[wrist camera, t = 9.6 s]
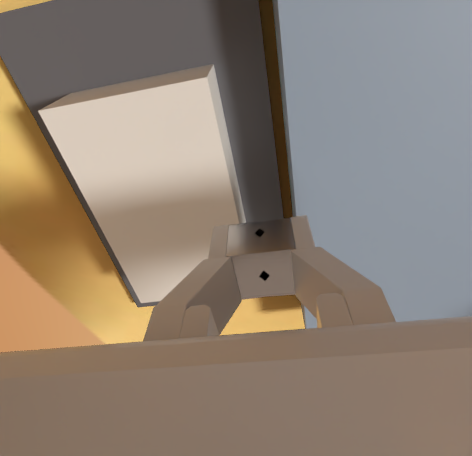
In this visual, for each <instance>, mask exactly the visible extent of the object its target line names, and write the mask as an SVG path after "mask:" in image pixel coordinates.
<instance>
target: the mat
mask: <svg viewBox="0 0 472 456" xmlns="http://www.w3.org/2000/svg"><path fill="white" fill-rule="evenodd" d="M0 56H1V58H2V60H3V62H4V63H5V65H6V67H7V69H8V71H9V73H10V74H11V76H12V78H13V80H14V82H15V84H16V85H17V87H18V89H19V91H20V93H21V94H22V96H23V98H24V100H25V102H26V104H27V105H28V107H29V109H30V111H31V113H32V115H33V116H34V118H35V120H36V122H37V124H38V126H39V127H40V129H41V131H42V133H43V135H44V137H45V138H46V140H47V142H48V144H49V146H50V148H51V149H52V151H53V153H54V155H55V157H56V159H57V160H58V162H59V164H60V166H61V168H62V170H63V171H64V173H65V175H66V177H67V179H68V181H69V182H70V184H71V186H72V188H73V190H74V192H75V193H76V195H77V197H78V199H79V201H80V203H81V204H82V206H83V208H84V210H85V212H86V214H87V215H88V217H89V219H90V221H91V223H92V225H93V226H94V228H95V230H96V232H97V234H98V236H99V237H100V239H101V241H102V243H103V245H104V246H105V248H106V250H107V252H108V254H109V256H110V257H111V259H112V261H113V263H114V265H115V267H116V268H117V270H118V272H119V274H120V276H121V278H122V279H123V281H124V283H125V285H126V287H127V289H128V290H129V292H130V294H131V296H132V298H133V300H134V301H135V303H136V305H137V307H146V306H155V305H157V304H158V303H159V302H160V301H157V302H148V303H141V302H140V300H139V299H138V297H137V295H136V293H135V291H134V289H133V287H132V286H131V284H130V282H129V280H128V278H127V276H126V274H125V272H124V271H123V269H122V267H121V265H120V263H119V261H118V259H117V258H116V256H115V254H114V252H113V250H112V248H111V246H110V244H109V243H108V241H107V239H106V237H105V235H104V233H103V231H102V230H101V228H100V226H99V224H98V222H97V220H96V218H95V216H94V215H93V213H92V211H91V209H90V207H89V205H88V203H87V202H86V200H85V198H84V196H83V194H82V192H81V190H80V189H79V187H78V185H77V183H76V181H75V179H74V177H73V175H72V174H71V172H70V170H69V168H68V166H67V164H66V162H65V161H64V159H63V157H62V155H61V153H60V151H59V149H58V147H57V146H56V144H55V142H54V140H53V138H52V136H51V134H50V133H49V131H48V129H47V127H46V125H45V123H44V121H43V119H42V118H41V116H40V114H39V112H38V111H39V110H41V109H42V108H44V107H46V106H48V105H50V104H52V103H53V102H55V101H57V100H59V99H61V98H63V97H64V96H66V95H68V94H70V93H74V92H79V91H84V90H89V89H93V88H98V87H103V86H108V85H113V84H118V83H123V82H128V81H132V80H137V79H142V78H147V77H152V76H157V75H162V74H167V73H171V72H176V71H181V70H186V69H191V68H196V67H201V66H206V65H210V64H214V68H215V73H216V78H217V83H218V88H219V93H220V98H221V103H222V107H223V112H224V117H225V122H226V127H227V132H228V137H229V142H230V147H231V151H232V156H233V161H234V166H235V171H236V176H237V181H238V186H239V191H240V195H241V200H242V205H243V210H244V215H245V220H246V223H249V222H259V221H260V222H262V221H269V220H277V219H284V217H283V209H282V200H281V191H280V183H279V174H278V165H277V157H276V148H275V140H274V131H273V122H272V114H271V105H270V96H269V88H268V79H267V70H266V62H265V53H264V44H263V36H262V27H261V18H260V10H259V1H258V0H52V1H48V2H44V3H40V4H36V5H32V6H28V7H24V8H20V9H15V10H11V11H7V12H3V13H0Z"/></svg>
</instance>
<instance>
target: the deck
mask: <svg viewBox="0 0 472 456" xmlns="http://www.w3.org/2000/svg"><path fill="white" fill-rule="evenodd" d="M272 3H273V14H274V24H275V35H276V45H277V56H278V67H279V77H280V88H281V98H282V109H283V119H284V130H285V140H286V151H287V161H288V172H289V182H290V193H291V204H292V214H293V217H295V216H302V215H306V216H307V217H308V221H309V225H310V229H311V232H312V236H313V240H314V244H315V247H321V248H323V249H324V250H326V251H327V252H329V253H330V254H332V255H333V256H335V257H336V258H338V259H339V260H341V261H342V262H344V263H345V264H347V265H348V266H349V267H351V268H352V269H354V270H355V271H357V272H358V273H360V274H361V275H363V276H364V277H366V278H367V279H369V280H370V281H372V282H373V283H375V284H376V285H378V286H379V287H381V289H382V291H383V293H384V296H385V298H386V300H387V302H388V305H389V307H390V309H391V311H392V314H393V316H394V318H395V320H396V322H403V321H415V320H428V319H440V318H453V317H465V316H472V0H272ZM301 307H302V313H303V319H304V324H305V329H310V328H317V319H316V318H315V317H314V316H313V315H312V314H311V313H310V312H309V310H308V309H307V308H306V307H305V306H304V305H303V304H302V303H301Z"/></svg>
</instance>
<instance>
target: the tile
mask: <svg viewBox="0 0 472 456" xmlns="http://www.w3.org/2000/svg"><path fill="white" fill-rule="evenodd" d="M38 112H39V114H40V116H41V118H42V119H43V121H44V123H45V125H46V127H47V129H48V131H49V133H50V134H51V136H52V138H53V140H54V142H55V144H56V146H57V147H58V149H59V151H60V153H61V155H62V157H63V159H64V161H65V162H66V164H67V166H68V168H69V170H70V172H71V174H72V175H73V177H74V179H75V181H76V183H77V185H78V187H79V189H80V190H81V192H82V194H83V196H84V198H85V200H86V202H87V203H88V205H89V207H90V209H91V211H92V213H93V215H94V216H95V218H96V220H97V222H98V224H99V226H100V228H101V230H102V231H103V233H104V235H105V237H106V239H107V241H108V243H109V244H110V246H111V248H112V250H113V252H114V254H115V256H116V258H117V259H118V261H119V263H120V265H121V267H122V269H123V271H124V272H125V274H126V276H127V278H128V280H129V282H130V284H131V286H132V287H133V289H134V291H135V293H136V295H137V297H138V299H139V300H140V302H141V303H148V302H157V301H161V300H162V299H163V298H164V297H165V296H166V295H167V294H168V293H169V292H170V291H172V290H173V289H174V288H175V287H176V286H177V285H178V284H179V283H180V282H181V281H182V280H183V279H184V278H185V277H186V276H187V275H188V274H189V273H190V272H191V271H192V270H193V269H194V268H195V267H196V266H197V265H198V264H199V263H200V262H202V261H203V260H204V259H208V255H209V249H210V243H211V236H212V230H213V228H214V226H221V225H230V224H239V223H246V220H245V215H244V210H243V205H242V200H241V195H240V191H239V186H238V181H237V176H236V171H235V166H234V161H233V156H232V151H231V147H230V142H229V137H228V132H227V127H226V122H225V117H224V112H223V107H222V103H221V98H220V93H219V88H218V83H217V78H216V73H215V68H214V64H210V65H206V66H201V67H196V68H191V69H186V70H181V71H176V72H171V73H167V74H162V75H157V76H152V77H147V78H142V79H137V80H132V81H128V82H123V83H118V84H113V85H108V86H103V87H98V88H93V89H89V90H84V91H79V92H74V93H70V94H68V95H66V96H64V97H63V98H61V99H59V100H57V101H55V102H53V103H52V104H50V105H48V106H46V107H44V108H42V109H41V110H39V111H38Z"/></svg>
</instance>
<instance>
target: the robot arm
mask: <svg viewBox="0 0 472 456" xmlns="http://www.w3.org/2000/svg"><path fill="white" fill-rule="evenodd" d="M282 295H295V296H296V297H297V298H298V299H299V300H300V302H301V303H302V304H303V305H304V306H305V307H306V308H307V309H308V310H309V312H310V313H311V314H312V315H313V316H314V317H315V318H316V319H317V328H310V329H297V330H284V331H271V332H259V333H246V334H233V335H220V334H221V332H222V330H223V329H224V327H225V326H226V324H227V323H228V321H229V320H230V318H231V317H232V315H233V313H234V312H235V310H236V309H237V307H238V306H239V304H240V303H241V300H242V299H250V298H259V297H267V296H282ZM219 335H220V336H219ZM0 456H472V316H465V317H453V318H440V319H428V320H415V321H403V322H396V320H395V318H394V316H393V314H392V311H391V309H390V307H389V305H388V302H387V300H386V298H385V296H384V293H383V291H382V289H381V287H379V286H378V285H376V284H375V283H373V282H372V281H370V280H369V279H367V278H366V277H364V276H363V275H361V274H360V273H358V272H357V271H355V270H354V269H352V268H351V267H349V266H348V265H347V264H345V263H344V262H342V261H341V260H339V259H338V258H336V257H335V256H333V255H332V254H330V253H329V252H327V251H326V250H324V249H323V248H321V247H315V244H314V240H313V236H312V232H311V229H310V225H309V221H308V217H307V216H306V215H302V216H295V217H290V218H284V219H277V220H269V221H262V222H260V221H259V222H249V223H239V224H230V225H221V226H214V228H213V230H212V236H211V243H210V249H209V255H208V259H204V260H203V261H202V262H200V263H199V264H198V265H197V266H196V267H195V268H194V269H193V270H192V271H191V272H190V273H189V274H188V275H187V276H186V277H185V278H184V279H183V280H182V281H181V282H180V283H179V284H178V285H177V286H176V287H175V288H174V289H173V290H172V291H170V292H169V293H168V294H167V295H166V296H165V297H164V298H163V299H162V300H161V301H160V302H159V303H158V304H157V305H156V306H155V307H154V308H153V311H152V314H151V317H150V321H149V324H148V327H147V330H146V334H145V337H144V340H143V342H130V343H117V344H104V345H92V346H78V347H66V348H54V349H40V350H27V351H14V352H1V353H0Z"/></svg>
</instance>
